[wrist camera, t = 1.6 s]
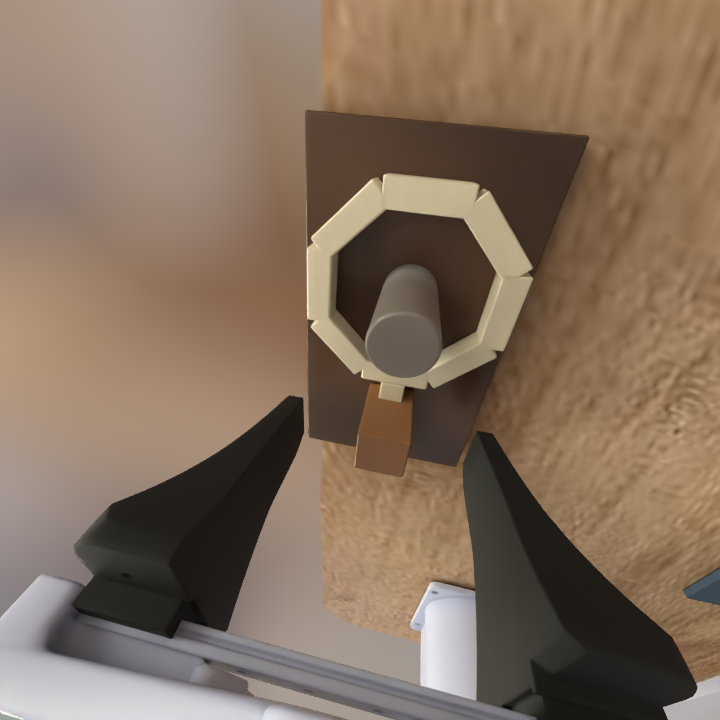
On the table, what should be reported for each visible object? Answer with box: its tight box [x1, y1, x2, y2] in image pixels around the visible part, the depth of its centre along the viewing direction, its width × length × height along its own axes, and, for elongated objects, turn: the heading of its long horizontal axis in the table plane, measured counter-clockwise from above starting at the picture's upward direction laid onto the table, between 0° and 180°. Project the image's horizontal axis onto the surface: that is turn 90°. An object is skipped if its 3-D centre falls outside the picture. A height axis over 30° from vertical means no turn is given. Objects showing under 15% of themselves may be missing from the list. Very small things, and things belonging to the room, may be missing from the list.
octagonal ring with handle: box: [307, 173, 533, 477], centre depth 11 cm, size 12×7×3 cm, turn 175°
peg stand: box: [305, 110, 589, 467], centre depth 11 cm, size 14×8×5 cm, turn 175°
